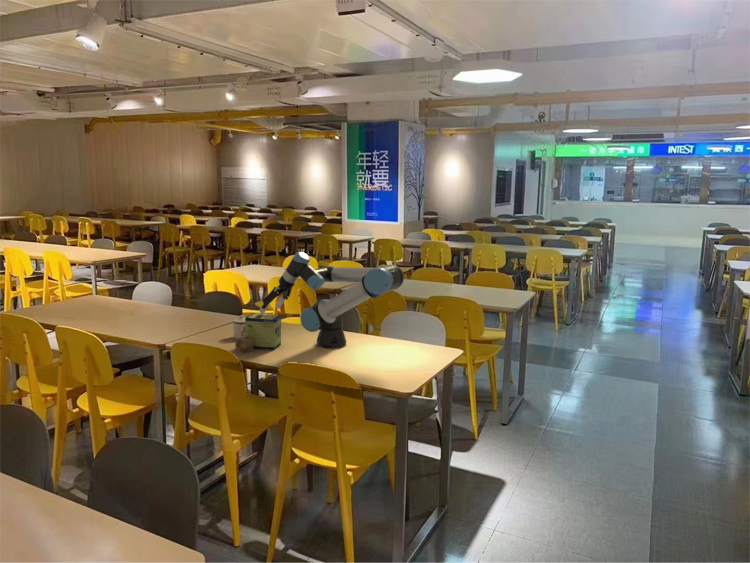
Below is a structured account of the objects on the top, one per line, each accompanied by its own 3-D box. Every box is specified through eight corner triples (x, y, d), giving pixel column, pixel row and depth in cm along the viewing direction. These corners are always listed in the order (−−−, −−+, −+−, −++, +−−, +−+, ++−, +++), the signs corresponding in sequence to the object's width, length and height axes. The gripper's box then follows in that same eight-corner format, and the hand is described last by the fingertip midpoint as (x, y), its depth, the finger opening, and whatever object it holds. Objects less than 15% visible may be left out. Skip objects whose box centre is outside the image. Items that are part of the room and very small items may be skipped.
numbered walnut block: (253, 350, 277) (253, 337, 276) (244, 353, 272) (244, 340, 271) (244, 348, 280) (243, 335, 279) (235, 351, 275) (235, 338, 274)
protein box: (275, 350, 278) (275, 319, 275) (244, 348, 280) (244, 317, 277) (281, 344, 288) (281, 314, 285) (252, 342, 290) (252, 312, 288)
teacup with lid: (243, 340, 294) (242, 318, 293) (229, 337, 299) (229, 316, 297) (258, 335, 305) (258, 314, 303) (245, 332, 309) (244, 312, 307)
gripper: (297, 269, 293) (279, 299, 302) (268, 278, 271) (248, 310, 280) (308, 279, 291) (288, 309, 300) (279, 288, 269) (259, 320, 278)
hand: (269, 309), depth 290 cm, fingers open, 13 cm apart
